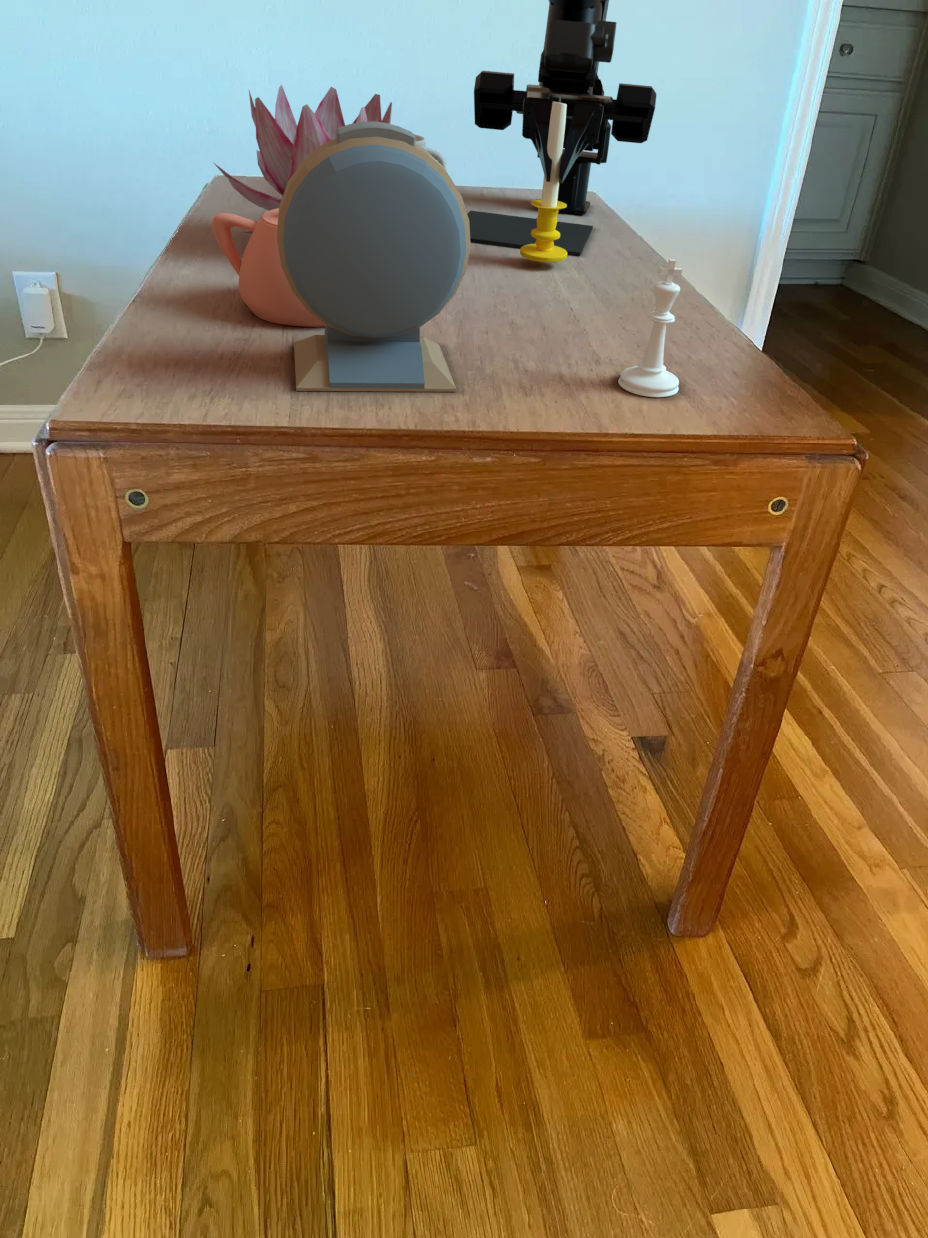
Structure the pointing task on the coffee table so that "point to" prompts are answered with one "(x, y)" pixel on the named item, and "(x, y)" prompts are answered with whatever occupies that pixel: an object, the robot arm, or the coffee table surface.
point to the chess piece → (656, 344)
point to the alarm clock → (372, 259)
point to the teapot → (262, 270)
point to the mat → (523, 231)
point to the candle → (549, 196)
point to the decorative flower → (295, 139)
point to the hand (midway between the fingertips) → (554, 179)
